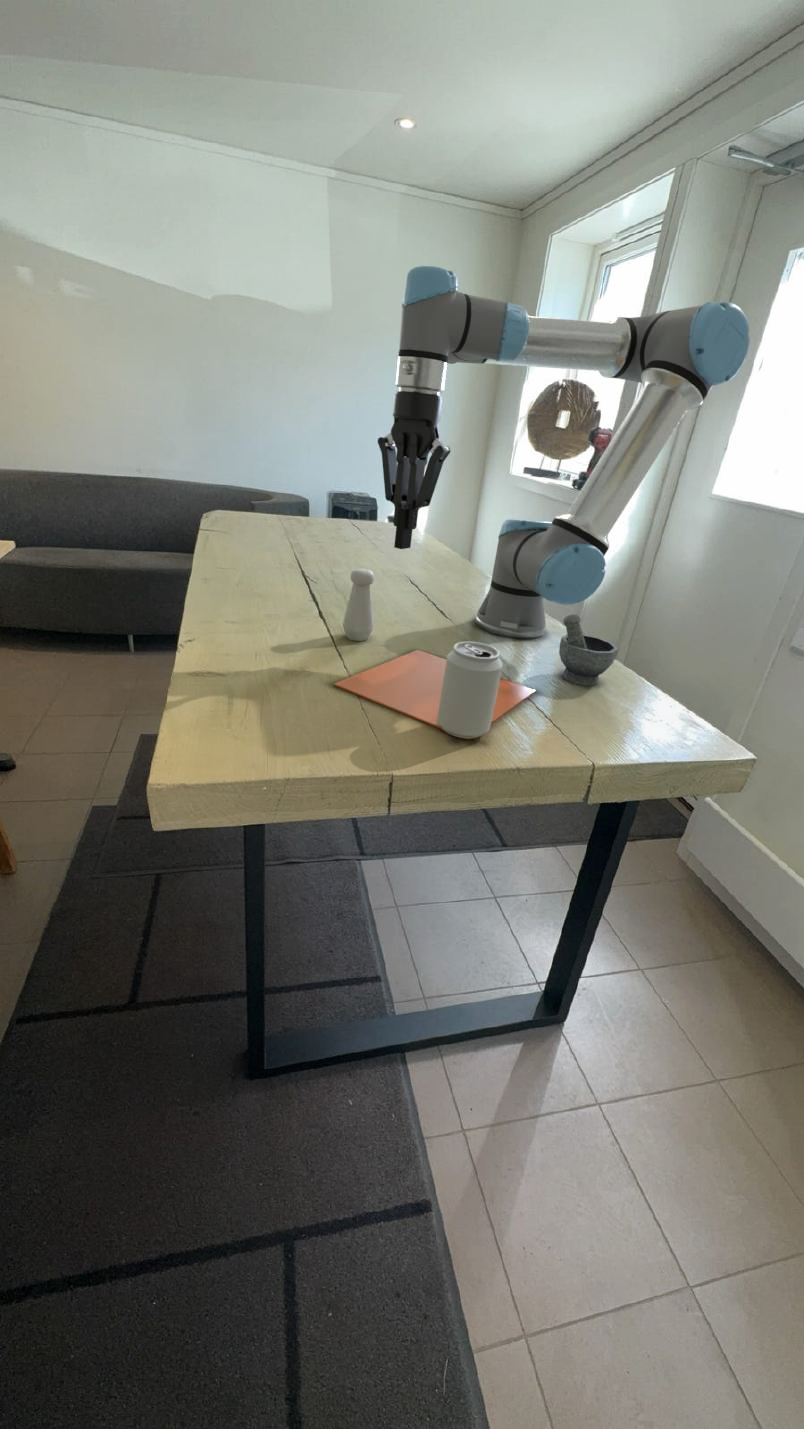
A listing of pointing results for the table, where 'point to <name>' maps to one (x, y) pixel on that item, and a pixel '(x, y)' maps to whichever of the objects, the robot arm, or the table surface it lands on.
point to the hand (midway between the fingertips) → (402, 547)
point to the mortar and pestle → (584, 654)
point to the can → (469, 689)
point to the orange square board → (420, 687)
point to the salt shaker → (359, 606)
